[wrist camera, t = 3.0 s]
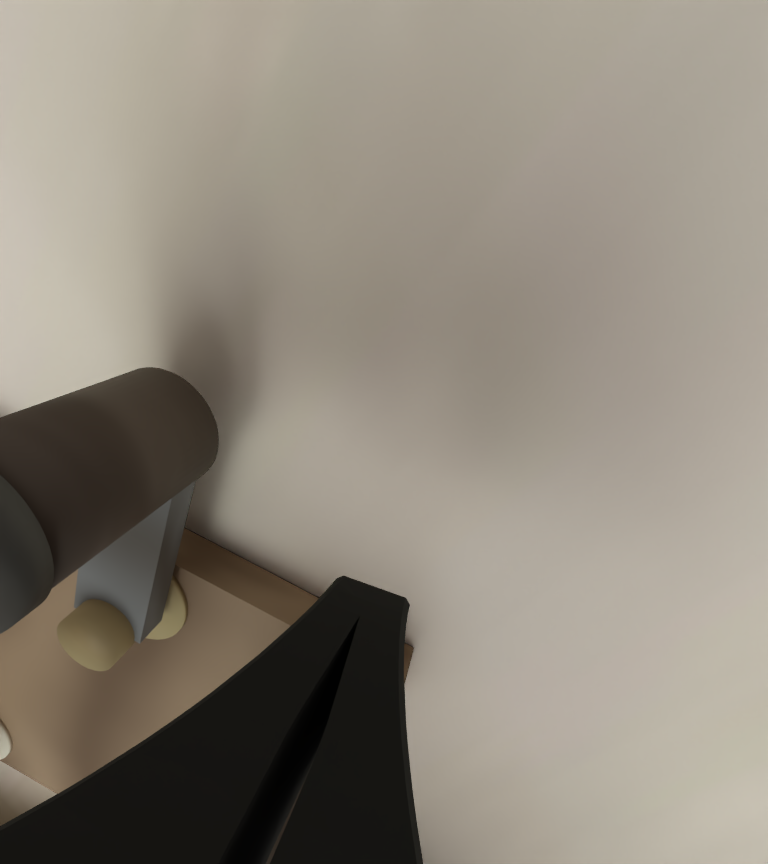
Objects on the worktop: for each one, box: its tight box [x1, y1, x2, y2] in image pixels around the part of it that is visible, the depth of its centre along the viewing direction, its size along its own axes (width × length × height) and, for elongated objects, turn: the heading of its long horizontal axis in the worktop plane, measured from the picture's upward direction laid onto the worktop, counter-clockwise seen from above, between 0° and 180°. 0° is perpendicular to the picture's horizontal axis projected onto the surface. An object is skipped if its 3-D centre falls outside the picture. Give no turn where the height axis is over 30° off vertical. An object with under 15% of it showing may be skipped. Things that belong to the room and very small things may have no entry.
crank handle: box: [0, 367, 219, 671], centre depth 12 cm, size 10×3×6 cm, turn 158°
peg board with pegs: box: [0, 528, 414, 864], centre depth 18 cm, size 18×18×7 cm
